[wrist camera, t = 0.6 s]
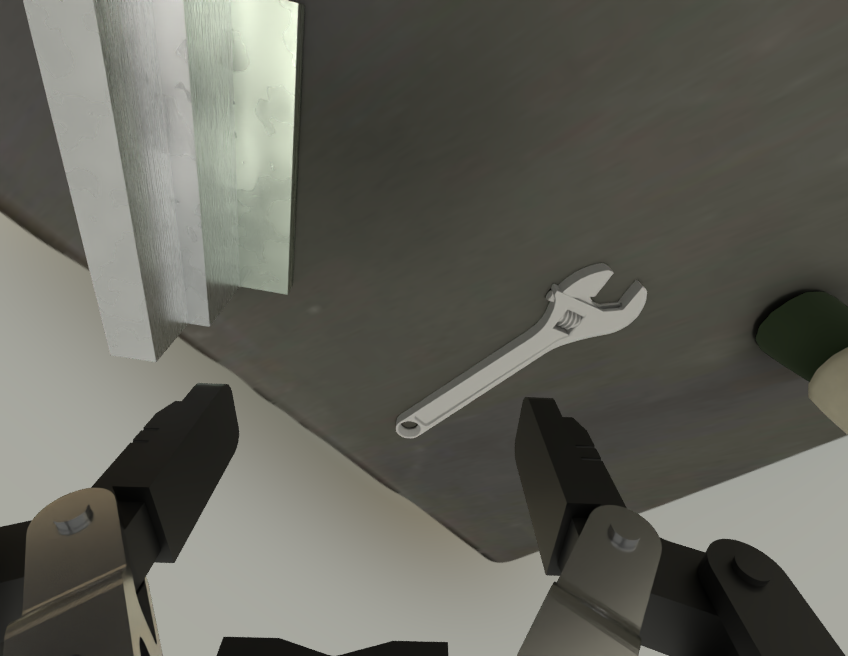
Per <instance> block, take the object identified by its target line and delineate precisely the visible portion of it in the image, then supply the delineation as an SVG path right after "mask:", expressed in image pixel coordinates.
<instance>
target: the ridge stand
mask: <svg viewBox="0 0 848 656" xmlns="http://www.w3.org/2000/svg"><path fill="white" fill-rule="evenodd" d="M23 2H24V6H25V10H26V14H27V18H28V22H29V26H30V30H31V35H32V39H33V43H34V47H35V51H36V55H37V59H38V63H39V67H40V71H41V75H42V79H43V83H44V87H45V91H46V95H47V100H48V104H49V108H50V112H51V116H52V120H53V124H54V128H55V132H56V136H57V140H58V144H59V148H60V152H61V156H62V160H63V164H64V169H65V173H66V177H67V181H68V185H69V189H70V193H71V197H72V201H73V205H74V209H75V213H76V217H77V221H78V225H79V229H80V234H81V238H82V242H83V246H84V250H85V254H86V258H87V262H88V266H89V270H90V274H91V278H92V282H93V286H94V290H95V294H96V299H97V303H98V307H99V311H100V315H101V319H102V323H103V327H104V331H105V335H106V339H107V343H108V347H109V351H110V355H112V356H119V357H125V358H132V359H139V360H145V361H152V362H157V360H158V359H159V358H160V357H161V356H162V354H163V353H164V352H165V351H166V350H167V349H168V347H169V346H170V345H171V343H172V342H173V341H174V340H175V339H176V338H177V337H178V335H179V334H180V333H181V332H182V331H183V329H184V328H185V327H186V326H187V325H188V323H190V324H196V325H202V326H209V327H210V326H211V324H212V323H213V322H214V320H215V319H216V318H217V316H218V315H219V314H220V312H221V311H222V310H223V308H224V307H225V306H226V304H227V303H228V302H229V300H230V299H231V298H232V296H233V295H234V294H235V292H236V291H237V290H238V288H239V287H240V286H241V287H247V288H253V289H259V290H264V291H270V292H276V293H282V294H287V295H288V293H289V291H290V289H291V287H292V285H293V262H294V239H295V216H296V194H297V171H298V148H299V125H300V102H301V79H302V56H303V33H304V10H305V5H302V4H299V3H295V2H291V1H288V0H23Z"/></svg>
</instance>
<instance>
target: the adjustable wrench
mask: <svg viewBox="0 0 848 656" xmlns="http://www.w3.org/2000/svg"><path fill="white" fill-rule="evenodd" d="M613 273H614V272H613V271H612V270H611V269H610V267H609V266H608V265H606V264H604V263H599V264H594V265H591V266H588V267H585V268H582V269H580V270H578V271H576V272H575V273H573V274H572V275H570V276H569V277H567V278H566V279H565V280H563V281H562V282H561V283H560V284H559V285H556V284H552V286H551V290H552V291H551V290H550V291H549V292H548V293H547V295H546V299H547V300H549V301H550V303H549V305H548V307H547V309H546V312H545V313H544V315H543V316H542V318H541V319H540V320H539V321H538V322H537V323H536V324H535V325H534V326H533V327H532V328H530V329H529V330H528V331H526V332H525V333H523V334H522V335H520V336H519V337H517V338H516V339H514V340H513V341H511V342H509V343H508V344H506V345H505V346H503V347H502V348H500V349H499V350H497V351H496V352H494V353H493V354H491V355H490V356H488V357H487V358H485V359H484V360H482V361H481V362H479V363H478V364H476V365H475V366H473V367H472V368H470V369H469V370H467V371H465V372H464V373H462V374H461V375H459V376H458V377H456V378H455V379H453V380H452V381H450V382H449V383H447V384H446V385H444V386H443V387H441V388H440V389H438V390H437V391H435V392H434V393H432V394H431V395H429V396H428V397H426V398H425V399H423V400H422V401H420V402H418V403H417V404H415V405H414V406H412V407H411V408H409V409H408V410H406V411H405V412H403V413H402V414H400V415H399V416H398V418H397V421H396V431H397V433H398V434H399V435H400V436H402V437H404V438H415V437H417V436H419V435H421V434H422V433H424V432H425V431H427V430H428V429H430V428H431V427H433V426H434V425H436V424H438V423H439V422H441V421H442V420H444V419H445V418H447V417H448V416H450V415H451V414H453V413H454V412H456V411H457V410H459V409H461V408H462V407H464V406H465V405H467V404H468V403H470V402H471V401H473V400H474V399H476V398H477V397H479V396H480V395H482V394H484V393H485V392H487V391H488V390H490V389H491V388H493V387H494V386H496V385H497V384H499V383H500V382H502V381H503V380H505V379H507V378H508V377H510V376H511V375H513V374H514V373H516V372H517V371H519V370H520V369H522V368H523V367H525V366H526V365H528V364H530V363H531V362H533V361H534V360H536V359H537V358H539V357H540V356H542V355H543V354H545V353H546V352H548V351H550V350H552V349H554V348H556V347H559V346H561V345H564V344H567V343H571V342H574V341H577V340H581V339H585V338H590V337H595V336H600V335H605V334H610V333H613V332H616V331H618V330H620V329H622V328H624V327H626V326H627V325H629V324H630V323H631V322H632V321H633V320H634V319H635V318H637V317H638V315H639V314H640V312H641V311H642V309H643V307H644V304H645V302H646V296H647V290H646V289H645V288H644V286H643V285H642V284H641V283H640V282H639V281H638V280H637V279H636V280H635V281H634V282H633V284H632V285H631V286H630V287H629V288H628V290H627V291H626V292H625V293H624V295H623V296H622V297H621V298H620V299H619V301H618V302H614V303H602V304H597V303H595V302H593V301H591V298H590V297H595V296H596V294H597V293H598V292H599V291H600V289H601V288H602V287H603V286H604V284H605V283H606V282H607V281H608V279H609V278H610V277H611V276H612V274H613ZM406 421H413V422H416V423H417V424H418V425H417V426H416V427H414V428H406V427H404V426H402V425H401V423H403V422H406Z"/></svg>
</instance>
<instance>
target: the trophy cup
mask: <svg viewBox="0 0 848 656" xmlns="http://www.w3.org/2000/svg"><path fill="white" fill-rule="evenodd" d="M756 341H757V343H758V345H759V348H760V349H761V350H762V351H763V352H765V353H766V354H768V355H769V356H770V357H772V358H773V359H775V360H776V361H777V362H779V363H780V364H782V365H784V366H785V367H787V368H788V369H790V370H791V371H793V372H794V373H796V374H798V375H799V376H801V377H802V378H804V379H805V380H807V381H809V384H808V397H809V398H810V399H811V400H812V401H813V403H814V404H815V405H816V406H817V407H818V408H819V409H820V410H821V411H822V412H823V413H824V414H825V415H826V416H827V417H829V418H830V419H831V420H832V421H833V422H834V423H835V424H836V425H837V426H838V427H840V428H841V429H842V430H843V431H844V432H845V433H846V434H847V435H848V307H847V306H846V305H845V304H843V303H842V302H841V301H839V300H838V299H837V298H835V297H833V296H831V295H829V294H827V293H825V292H806V293H804V294H802V295H799V296H797V297H795V298H793V299H791V300H789V301H788V302H786V303H785V304H783V305H782V306H781V307H779V308H778V309H776V310H775V311H773V312H772V313H771V314H770V315H769V316H768V317H767V318H766V320H765V321H764V322H763V323H762V324H761V325H760V327H759V330H758V333H757V336H756Z"/></svg>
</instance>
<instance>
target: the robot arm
mask: <svg viewBox="0 0 848 656" xmlns="http://www.w3.org/2000/svg"><path fill="white" fill-rule="evenodd" d="M238 438H239V427H238V422H237V417H236V411H235V406H234V400H233V395H232V390H231V388H230V387H229V385H227V384H208V383H198V384H196V385H195V386H194V387H193V388H192V390H191V391H190V392H189V393H188V394H187V396H186V397H185V398H184V399H183V400H182V401H175V402H173V403H172V404H170V405H168V406H167V407H165V408H164V409H162V410H161V411H159V412H157V413H156V414H155V415H154V416H153V418H152V419H151V420H150V421H149V422H148V423H147V424H146V426H145V427H144V430H143V431H140V433H139V434H138V435H137V436H136V437H135V438H134V439H133V443H130V444H129V445H128V446H127V447H126V449H124V451H123V452H122V453H121V454H120V455H119V456H118V457H117V459H116V460H115V461H114V462H113V463H112V464H111V465H110V467H109V468H108V469H107V470H106V471H105V472H104V473H103V475H102V476H101V477H100V478H99V479H98V480H97V481H96V483H95V484H94V485H93V486H92V487H91V488H86V489H82V490H78V491H75V492H72V493H69V494H67V495H64V496H62V497H60V498H58V499H57V500H55V501H54V502H52V503H50V504H49V505H47V506H46V507H45V508H43V509H42V510H41V511H40V512H39V513H38V514H37V515H36V516H35V517H34V519H33V520H32V521H26V522H22V523H17V524H13V525H8V526H3V527H0V656H163V654H162V649H161V644H160V639H159V634H158V629H157V624H156V619H155V614H154V609H153V604H152V599H151V594H150V589H149V584H148V581H147V578H146V575H147V573H148V572H149V570H150V568H151V567H152V565H153V563H154V562H160V563H174V562H175V561H176V559H177V557H178V555H179V553H180V552H181V550H182V548H183V546H184V544H185V542H186V541H187V539H188V537H189V535H190V533H191V531H192V530H193V528H194V526H195V524H196V522H197V521H198V519H199V517H200V515H201V513H202V511H203V509H204V508H205V506H206V504H207V502H208V500H209V498H210V497H211V495H212V493H213V491H214V489H215V488H216V486H217V484H218V482H219V480H220V479H221V477H222V475H223V473H224V471H225V469H226V468H227V466H228V464H229V462H230V460H231V458H232V457H233V455H234V453H235V450H236V448H237V444H238ZM515 460H516V465H517V469H518V472H519V476H520V480H521V484H522V487H523V491H524V495H525V499H526V503H527V506H528V510H529V514H530V518H531V521H532V525H533V529H534V533H535V536H536V540H537V544H538V548H539V551H540V555H541V559H542V563H543V566H544V570H545V574H546V575H554V576H555V575H557V576H560V577H559V579H558V581H557V583H556V582H554V583H553V585H552V586H551V588H550V590H549V592H548V594H547V596H546V598H545V600H544V602H543V604H542V606H541V608H540V610H539V612H538V614H537V616H536V618H535V620H534V622H533V624H532V626H531V628H530V630H529V632H528V634H527V636H526V638H525V640H524V642H523V644H522V646H521V648H520V650H519V652H518V654H517V656H638V654H639V650H640V646H641V645H642V646H645V647H647V648H650V649H653V650H655V651H658V652H661V653H663V654H666V655H669V656H845V654H844V653H843V652H842V650H841V649H840V648H839V646H838V645H837V643H836V642H835V641H834V639H833V638H832V637H831V635H830V634H829V632H828V631H827V630H826V628H825V627H824V626H823V624H822V623H821V621H820V620H819V619H818V617H817V616H816V614H815V613H814V612H813V610H812V609H811V608H810V606H809V605H808V603H807V602H806V601H805V599H804V598H803V597H802V595H801V594H800V593H799V591H798V590H797V588H796V587H795V585H794V584H793V583H792V581H791V580H790V579H789V577H788V576H787V575H786V573H785V572H784V571H783V570H782V568H781V567H780V566H779V565H777V563H776V562H774V561H773V560H772V559H771V558H769V557H768V556H767V555H765V554H764V553H763V552H761V551H759V550H758V549H756V548H754V547H752V546H750V545H748V544H745V543H743V542H740V541H736V540H731V539H719V540H716V541H714V542H712V543H711V544H710V545H709V547H708V549H707V551H706V553H705V552H702V551H699V550H695V549H692V548H689V547H686V546H682V545H679V544H676V543H672V542H670V541H667V540H664V539H662V538H660V537H659V536H658V534H657V532H656V531H655V529H654V528H653V527H652V526H651V524H650V523H649V522H648V521H646V520H645V519H644V518H643V517H641V516H640V515H639V514H637V513H635V512H633V511H631V510H629V509H627V508H626V506H625V504H624V502H623V500H622V498H621V496H620V494H619V492H618V490H617V488H616V487H615V485H614V483H613V481H612V479H611V477H610V475H609V473H608V471H607V469H606V467H605V465H604V463H603V461H601V457H600V455H599V453H598V452H597V450H596V449H595V448H594V444H593V442H592V440H591V438H590V436H589V434H588V432H587V430H585V429H584V428H583V427H582V426H581V425H580V424H579V423H578V422H577V421H576V420H575V419H574V418H572V417H562V415H561V413H560V411H559V409H558V407H557V404H556V402H555V400H554V399H553V398H535V397H525V398H524V400H523V403H522V408H521V413H520V418H519V423H518V429H517V434H516V439H515ZM217 656H330V655H326V654H324V653H321V652H317V651H315V650H312V649H309V648H306V647H303V646H301V645H298V644H295V643H292V642H289V641H286V640H283V639H280V638H251V637H247V638H246V637H223V640H222V643H221V645H220V648H219V651H218V654H217ZM338 656H448V642H416V641H413V642H412V641H391V642H387V643H384V644H380V645H377V646H372V647H369V648H365V649H361V650H358V651H354V652H350V653H347V654H343V655H338Z"/></svg>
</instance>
